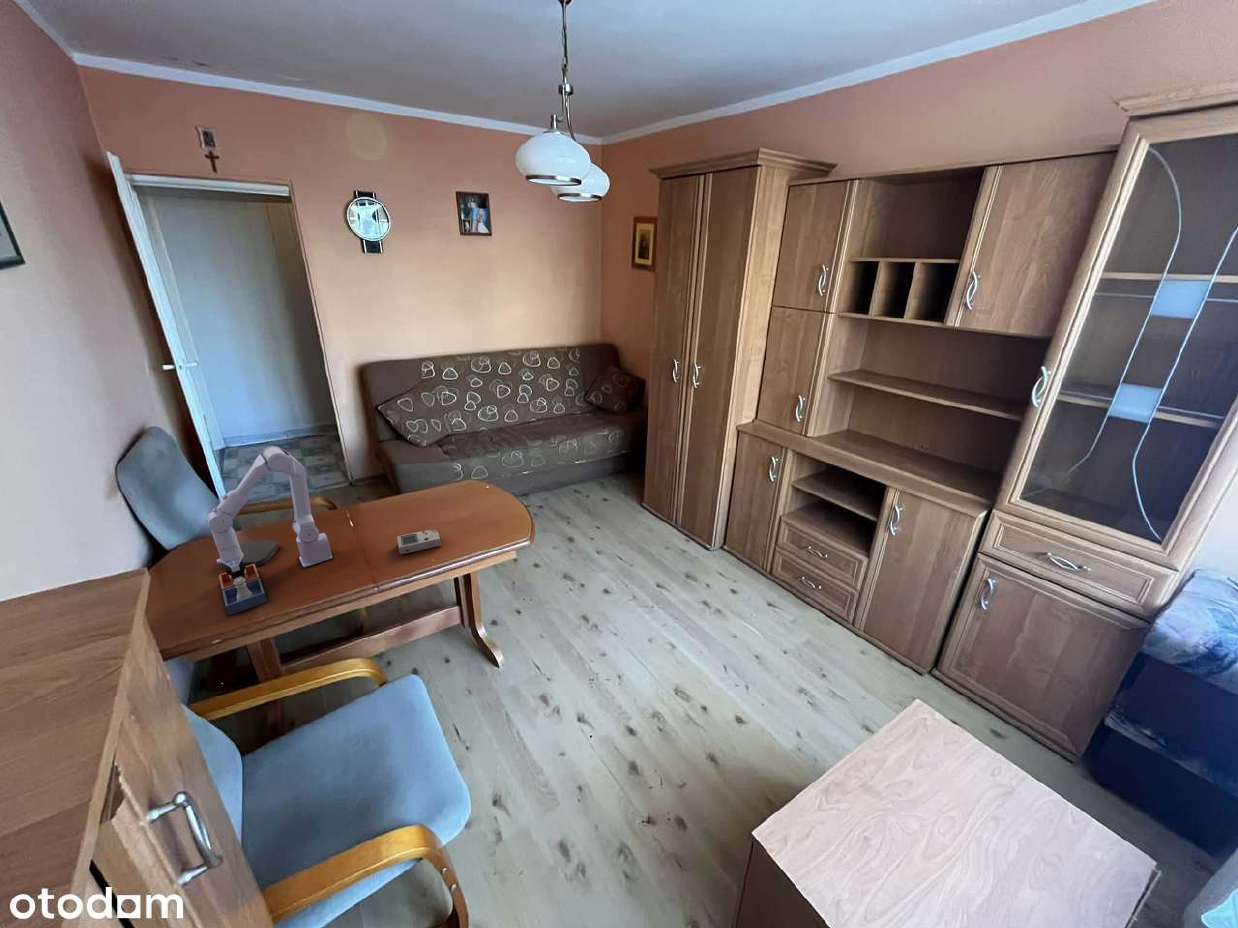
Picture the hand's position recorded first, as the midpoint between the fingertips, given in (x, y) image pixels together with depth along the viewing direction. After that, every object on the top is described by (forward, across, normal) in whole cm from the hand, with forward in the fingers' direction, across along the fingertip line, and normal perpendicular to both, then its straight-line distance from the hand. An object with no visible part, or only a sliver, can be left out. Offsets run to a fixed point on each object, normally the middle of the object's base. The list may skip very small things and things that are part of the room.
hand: (239, 579), depth 170 cm
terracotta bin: (+2, 0, 0) cm, 2 cm away
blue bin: (+2, +11, 0) cm, 11 cm away
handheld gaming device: (+2, +15, +55) cm, 57 cm away
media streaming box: (+2, -17, +5) cm, 18 cm away
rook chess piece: (+2, +11, 0) cm, 11 cm away
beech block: (+2, 0, 0) cm, 2 cm away
